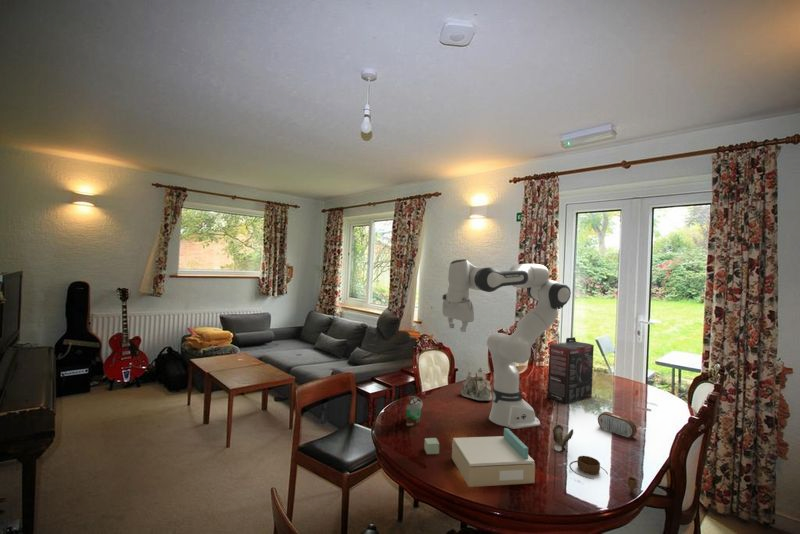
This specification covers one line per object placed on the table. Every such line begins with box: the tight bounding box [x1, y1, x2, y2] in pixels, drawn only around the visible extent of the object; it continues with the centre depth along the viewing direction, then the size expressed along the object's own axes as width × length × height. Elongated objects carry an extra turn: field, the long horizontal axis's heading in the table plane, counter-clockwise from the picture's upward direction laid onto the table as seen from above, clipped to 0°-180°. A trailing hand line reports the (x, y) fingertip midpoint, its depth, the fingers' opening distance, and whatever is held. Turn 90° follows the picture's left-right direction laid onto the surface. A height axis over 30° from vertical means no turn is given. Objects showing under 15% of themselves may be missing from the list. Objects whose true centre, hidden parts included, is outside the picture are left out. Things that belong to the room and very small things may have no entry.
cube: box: [423, 437, 440, 455], centre depth 139 cm, size 4×4×4 cm
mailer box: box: [451, 440, 536, 488], centre depth 127 cm, size 22×18×7 cm
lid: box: [452, 427, 535, 466], centre depth 127 cm, size 22×18×4 cm
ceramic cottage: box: [460, 367, 492, 401], centre depth 201 cm, size 16×16×15 cm
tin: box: [597, 411, 638, 439], centre depth 161 cm, size 15×3×8 cm, turn 37°
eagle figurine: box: [552, 424, 574, 453], centre depth 144 cm, size 8×7×9 cm
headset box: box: [546, 336, 595, 405], centre depth 207 cm, size 25×12×33 cm, turn 124°
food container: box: [405, 395, 424, 428], centre depth 164 cm, size 12×6×10 cm, turn 168°
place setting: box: [569, 455, 638, 494], centre depth 125 cm, size 18×20×6 cm
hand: (457, 329), depth 159 cm, fingers open, 8 cm apart
